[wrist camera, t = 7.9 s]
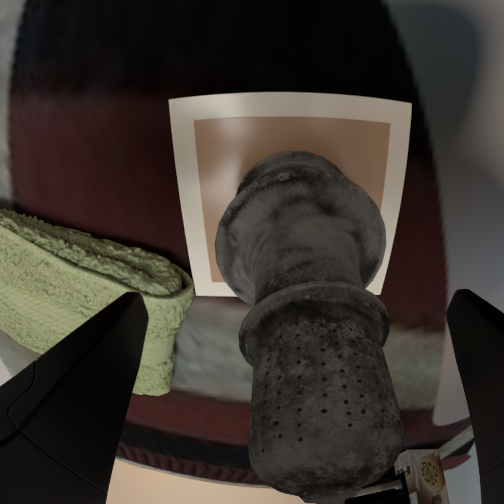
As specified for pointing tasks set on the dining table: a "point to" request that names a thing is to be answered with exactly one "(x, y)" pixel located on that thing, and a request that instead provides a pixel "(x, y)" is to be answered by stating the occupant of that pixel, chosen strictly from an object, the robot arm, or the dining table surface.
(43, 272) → the washcloth
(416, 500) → the coffee box
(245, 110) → the coaster
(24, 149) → the dining table surface
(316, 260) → the salt shaker
